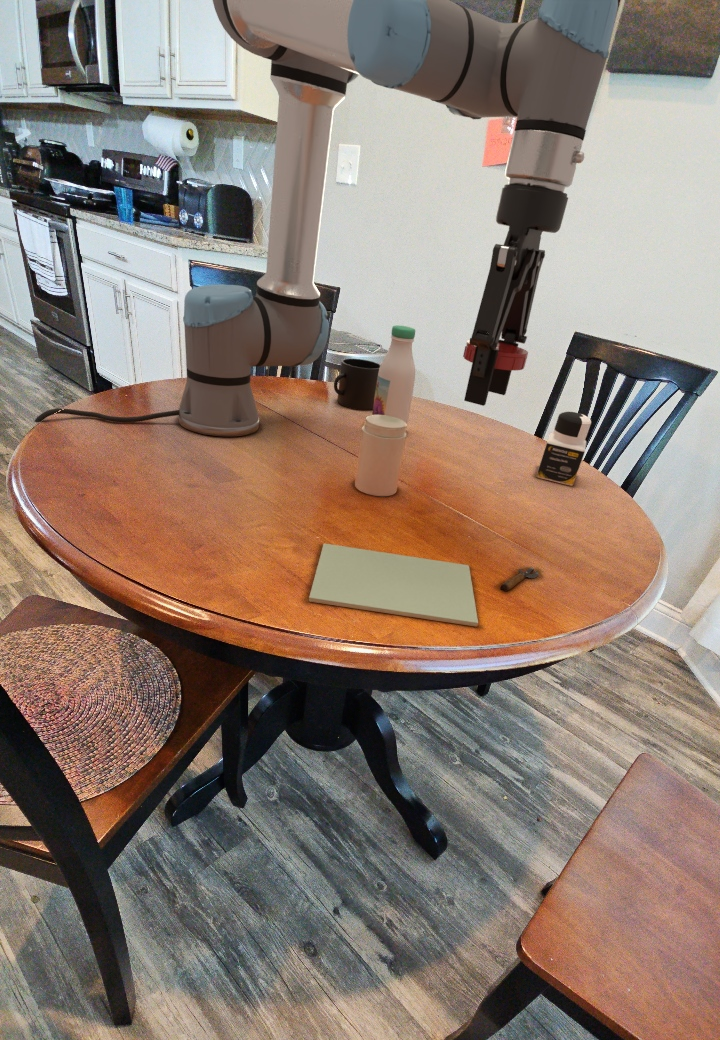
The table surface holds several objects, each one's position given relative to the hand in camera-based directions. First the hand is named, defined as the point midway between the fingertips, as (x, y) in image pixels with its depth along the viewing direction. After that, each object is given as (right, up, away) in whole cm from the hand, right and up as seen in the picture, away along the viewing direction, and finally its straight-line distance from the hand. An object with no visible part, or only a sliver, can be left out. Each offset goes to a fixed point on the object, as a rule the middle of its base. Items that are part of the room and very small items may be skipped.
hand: (485, 397), depth 79 cm
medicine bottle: (+22, -1, +37) cm, 43 cm away
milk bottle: (-11, +12, +47) cm, 50 cm away
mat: (-13, -26, -5) cm, 29 cm away
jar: (-14, -7, +20) cm, 26 cm away
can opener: (+5, -25, 0) cm, 26 cm away
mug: (-19, +23, +60) cm, 66 cm away
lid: (+1, +5, -3) cm, 6 cm away
